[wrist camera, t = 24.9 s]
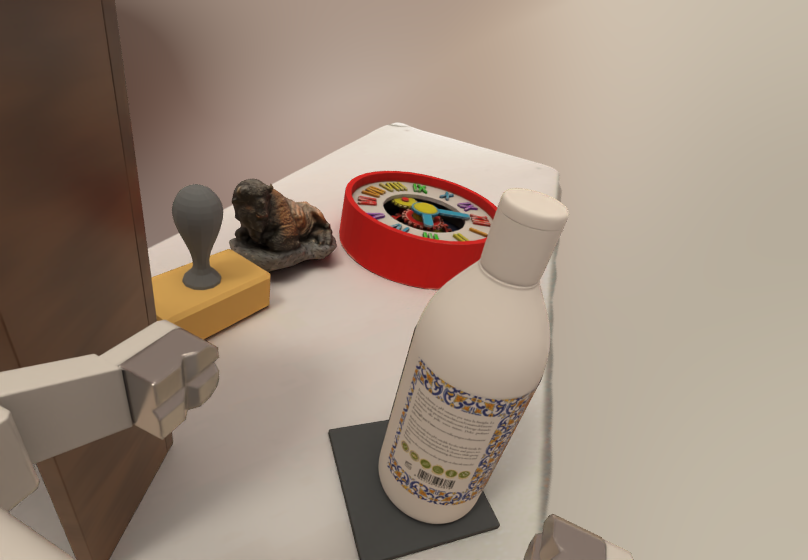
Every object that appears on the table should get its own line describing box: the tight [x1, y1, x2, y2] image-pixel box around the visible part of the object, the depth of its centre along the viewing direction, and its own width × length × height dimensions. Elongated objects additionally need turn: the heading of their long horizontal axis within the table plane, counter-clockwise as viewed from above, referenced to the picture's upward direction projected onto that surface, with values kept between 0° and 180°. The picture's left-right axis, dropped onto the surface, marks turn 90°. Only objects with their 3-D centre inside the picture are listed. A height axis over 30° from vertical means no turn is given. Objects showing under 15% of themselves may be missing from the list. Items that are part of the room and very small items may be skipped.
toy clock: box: [339, 171, 497, 290], centre depth 56 cm, size 20×6×20 cm
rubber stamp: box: [151, 184, 270, 340], centre depth 35 cm, size 10×6×12 cm, turn 147°
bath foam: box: [378, 188, 569, 524], centre depth 24 cm, size 7×7×20 cm
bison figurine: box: [229, 179, 337, 271], centre depth 45 cm, size 12×7×10 cm, turn 143°
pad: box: [328, 420, 500, 560], centre depth 29 cm, size 9×9×1 cm
